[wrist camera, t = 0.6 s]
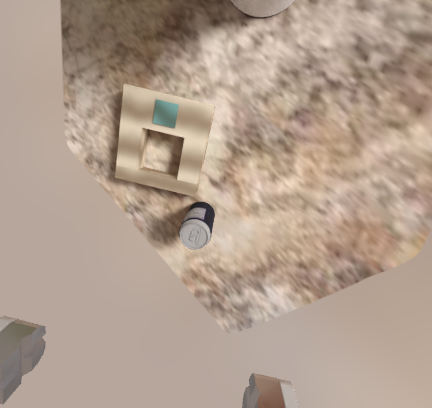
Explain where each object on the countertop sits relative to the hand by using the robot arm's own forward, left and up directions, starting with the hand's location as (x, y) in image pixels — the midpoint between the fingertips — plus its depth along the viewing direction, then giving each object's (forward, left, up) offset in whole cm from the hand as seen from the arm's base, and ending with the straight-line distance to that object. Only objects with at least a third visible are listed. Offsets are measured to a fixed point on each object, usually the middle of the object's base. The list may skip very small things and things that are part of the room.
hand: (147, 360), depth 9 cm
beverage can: (+9, -1, -41) cm, 42 cm away
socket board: (-4, -11, -40) cm, 42 cm away
